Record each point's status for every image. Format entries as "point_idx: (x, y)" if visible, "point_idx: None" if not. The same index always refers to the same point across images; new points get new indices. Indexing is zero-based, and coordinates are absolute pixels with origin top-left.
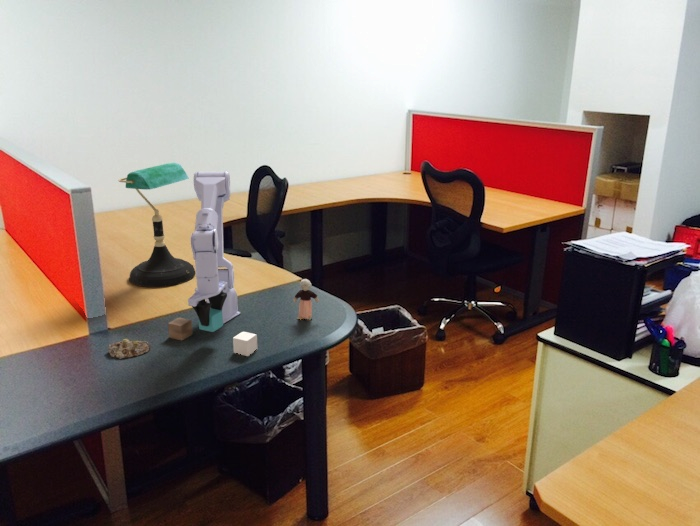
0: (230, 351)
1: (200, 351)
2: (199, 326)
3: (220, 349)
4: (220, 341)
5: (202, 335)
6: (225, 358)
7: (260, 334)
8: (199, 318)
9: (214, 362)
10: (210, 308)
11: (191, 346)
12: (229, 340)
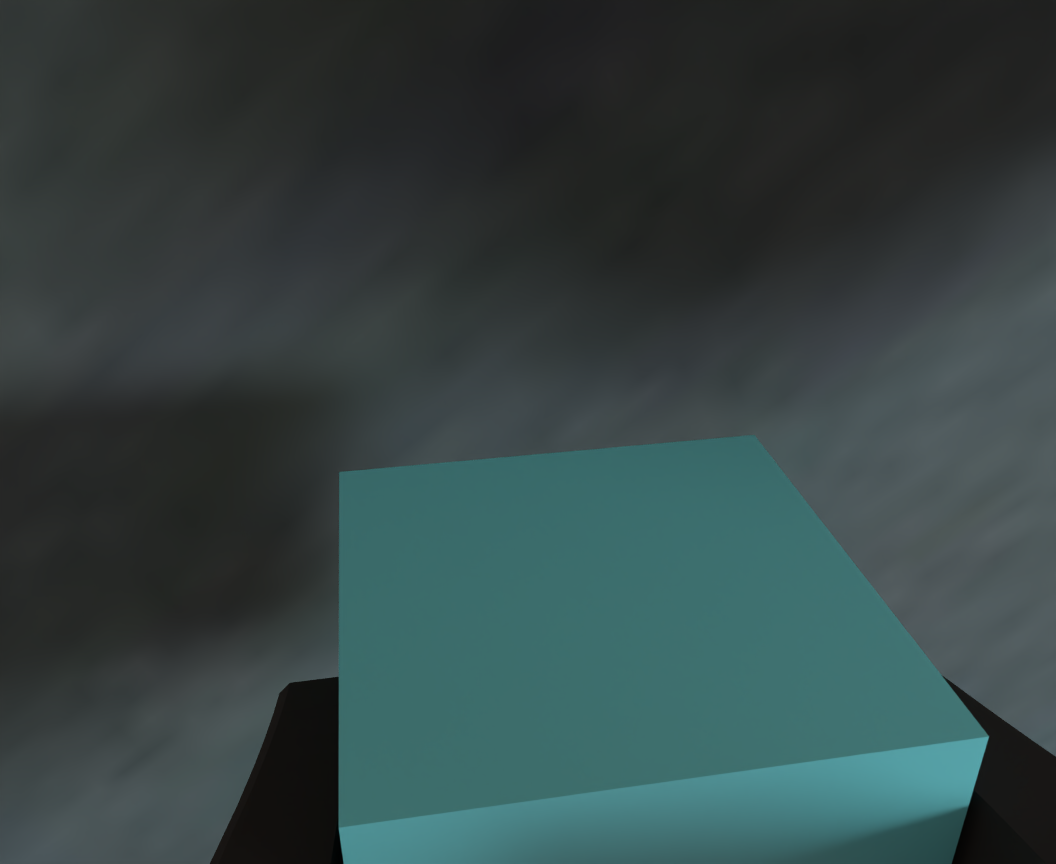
0: None
1: (143, 473)
2: (339, 523)
3: None
4: None
5: (694, 46)
6: (202, 853)
7: None
8: (226, 861)
9: (19, 832)
10: (954, 810)
11: (191, 199)
12: None
